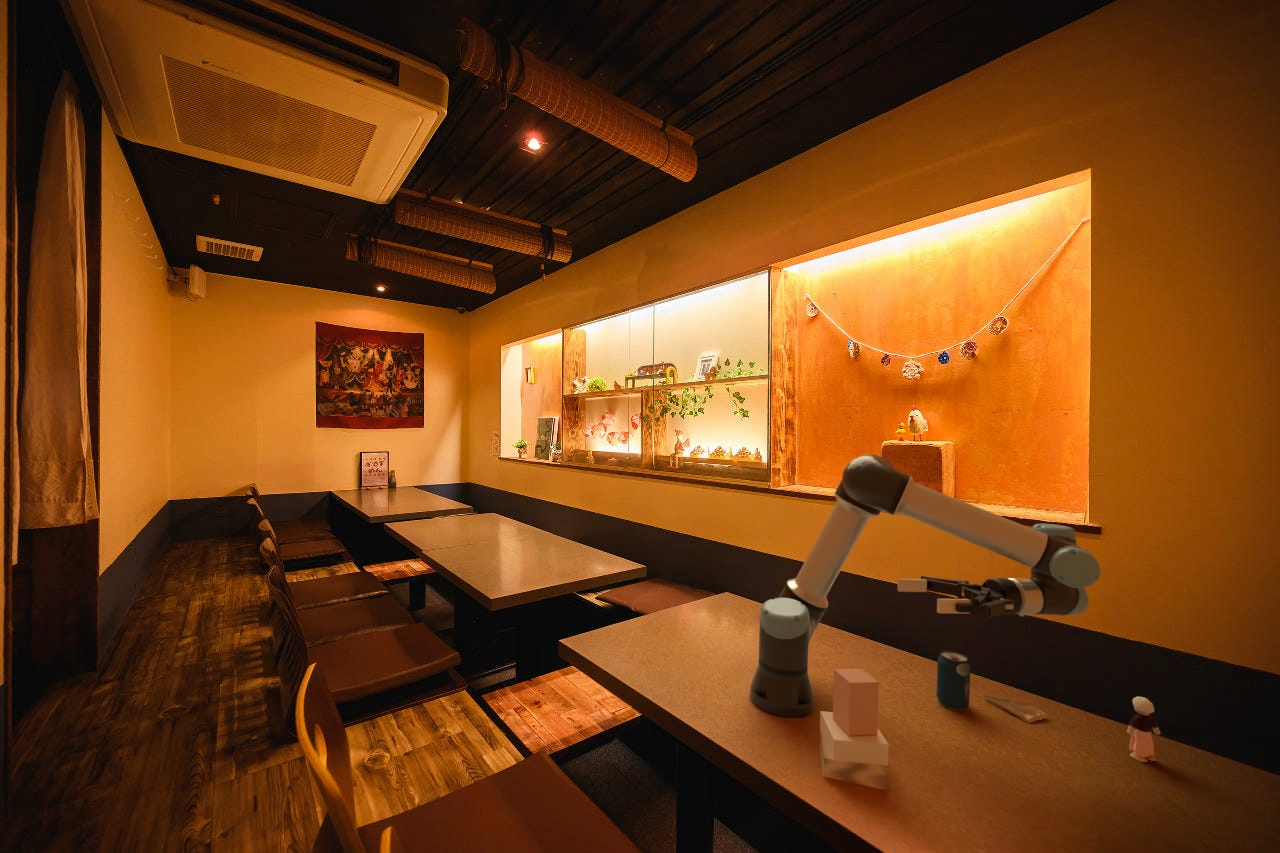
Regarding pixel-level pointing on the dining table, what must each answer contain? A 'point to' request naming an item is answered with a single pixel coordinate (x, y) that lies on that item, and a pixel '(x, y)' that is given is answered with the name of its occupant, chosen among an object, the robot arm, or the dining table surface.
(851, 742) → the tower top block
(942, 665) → the soda can
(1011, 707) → the shard
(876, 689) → the tall block
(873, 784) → the tower base block
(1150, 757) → the grandmother figurine
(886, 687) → the dining table surface
